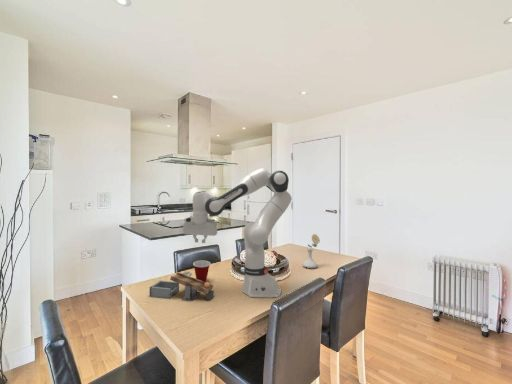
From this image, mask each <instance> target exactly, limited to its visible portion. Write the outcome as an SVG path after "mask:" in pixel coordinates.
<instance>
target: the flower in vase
mask: <svg viewBox="0 0 512 384" xmlns="http://www.w3.org/2000/svg"><path fill="white" fill-rule="evenodd" d="M311 241H312V245H310V244H307V247H308V248H307V249H306V250H307V253H308V254H307V255H308V257H307V259H306V260H305V261H303V262H302V264H301V266H302V267H304V268H306V267H307V268H308V269H315V268H317V267H318V266H319V265H318V263H317V262H316V260H314V259H313V258H312V257H313V255H312V254H313V251H314V248H317V247H318V244H319V243H320V238H319V236H318V235H317V234H316V233H313V234H312V235H311ZM312 247H313V248H312Z"/></svg>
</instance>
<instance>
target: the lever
mask: <svg viewBox="0 0 512 384" xmlns="http://www.w3.org/2000/svg"><path fill="white" fill-rule="evenodd" d="M192 275H193V273H192V272H190V271H187V270H186V271H184V272H179V271H177V272H176V274H175V275H171V276H170V281H171V282H177V283H179V285H182V286H184V287H185V286H186V285H189V286H191V288H193V289H195V290H198V291H199V292H201V293H204V294H205V295H206V294H208V293H209V292H210V291H211V290H212V291H213V286H214V284H211V283H210V287H209V288H207V289H206V288H205V287H204V284H205V283H206V282H207V281H206V282H203V281H201V280H198V279H196V277H193V276H192Z"/></svg>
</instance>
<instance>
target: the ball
mask: <svg viewBox="0 0 512 384" xmlns="http://www.w3.org/2000/svg"><path fill="white" fill-rule="evenodd" d="M210 284H211V283H210V282H208V281H206V283H205V284H204V287H205V288H206V289H207V288H209V287H210Z"/></svg>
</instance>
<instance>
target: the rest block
mask: <svg viewBox="0 0 512 384" xmlns="http://www.w3.org/2000/svg"><path fill="white" fill-rule="evenodd" d="M214 292H215V291H214V290H213V289H212V290H211V291H210V292H209V293H208V294H206V293H205V300H206V301H211V300H212V299H213V298H214V295H215V293H214Z"/></svg>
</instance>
